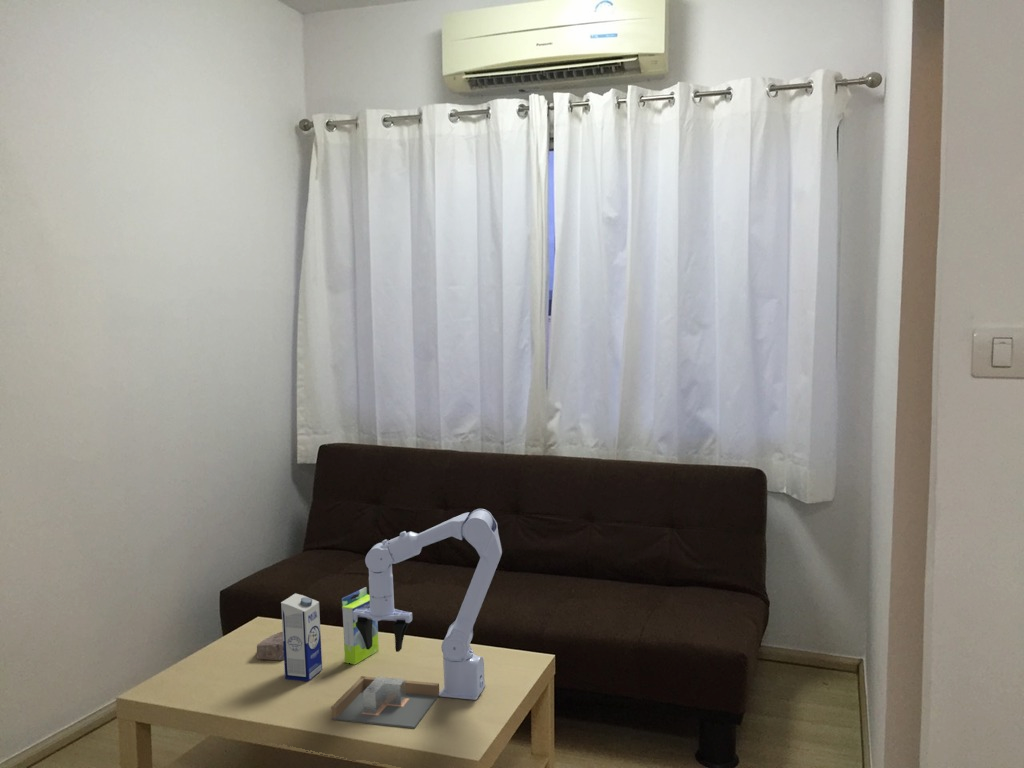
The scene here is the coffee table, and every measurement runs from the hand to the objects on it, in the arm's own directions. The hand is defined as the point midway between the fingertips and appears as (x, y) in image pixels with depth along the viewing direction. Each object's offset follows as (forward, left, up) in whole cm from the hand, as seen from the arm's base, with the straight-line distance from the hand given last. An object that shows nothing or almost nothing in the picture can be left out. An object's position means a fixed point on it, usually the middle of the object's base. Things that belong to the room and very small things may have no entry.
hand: (383, 648), depth 197 cm
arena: (-4, +8, -10) cm, 14 cm away
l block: (-4, +9, -10) cm, 14 cm away
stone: (+38, -15, -11) cm, 43 cm away
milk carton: (+24, -4, -10) cm, 27 cm away
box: (+14, -17, -10) cm, 24 cm away
